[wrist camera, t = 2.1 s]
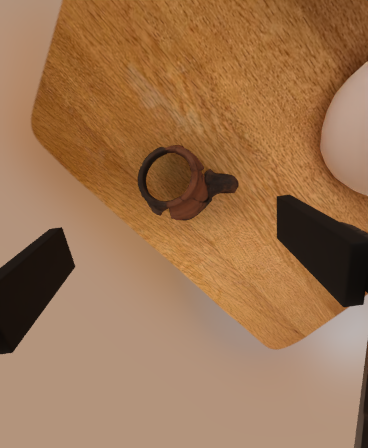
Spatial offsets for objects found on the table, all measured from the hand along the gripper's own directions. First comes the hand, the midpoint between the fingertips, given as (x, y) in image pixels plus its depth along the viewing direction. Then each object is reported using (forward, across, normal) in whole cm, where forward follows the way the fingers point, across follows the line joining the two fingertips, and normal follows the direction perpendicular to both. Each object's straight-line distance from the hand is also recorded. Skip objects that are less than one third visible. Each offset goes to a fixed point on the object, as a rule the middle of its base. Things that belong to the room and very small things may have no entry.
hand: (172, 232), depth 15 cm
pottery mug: (+20, +2, -1) cm, 20 cm away
